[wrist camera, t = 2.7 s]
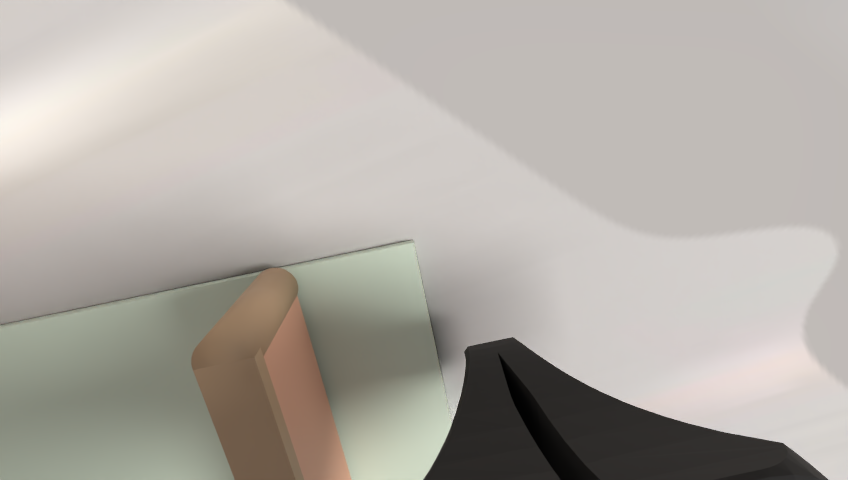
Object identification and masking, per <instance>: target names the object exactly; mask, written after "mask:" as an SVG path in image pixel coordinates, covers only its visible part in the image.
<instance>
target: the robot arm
mask: <svg viewBox="0 0 848 480" xmlns="http://www.w3.org/2000/svg"><path fill="white" fill-rule="evenodd" d="M464 352H465V357H466V369H465V377H464V383H463V388H462V393H461V397H460V400H459V404H458V407H457V411H456V414H455V417H454V420H453V423H452V425H451V428H450V430H449V433H448V435H447V437H446V440H445V442H444V444H443V446H442V448H441V450H440V452H439V454H438V456H437V458H436V460H435V461H434V463H433V465H432V467H431V468H430V470H429V472H428V473H427V475H426V476H425V478H424V479H423V480H828V479H827V478H826V477H825V476H823V475H822V474H821V473H820V472H819V471H818V470H816V469H815V468H814V467H813V466H812V465H810V464H809V463H808V462H807V461H805V460H804V459H803V458H802V457H800V456H799V455H798V454H797V453H795V452H794V451H793V450H791V449H790V448H789V447H787V446H786V445H784V444H783V443H779V442H774V441H768V440H763V439H757V438H752V437H746V436H741V435H735V434H730V433H724V432H720V431H716V430H712V429H708V428H704V427H700V426H696V425H692V424H688V423H684V422H681V421H677V420H674V419H671V418H667V417H664V416H661V415H658V414H655V413H652V412H649V411H647V410H644V409H641V408H638V407H635V406H633V405H630V404H627V403H625V402H623V401H620V400H618V399H616V398H613V397H611V396H609V395H607V394H604V393H602V392H600V391H598V390H596V389H594V388H592V387H590V386H588V385H586V384H584V383H582V382H580V381H579V380H577V379H575V378H573V377H571V376H570V375H568V374H566V373H565V372H563V371H561V370H560V369H558V368H556V367H555V366H553V365H552V364H550V363H549V362H547V361H546V360H544V359H543V358H541V357H540V356H538V355H537V354H536V353H534V352H533V351H531V350H530V349H529V348H527V347H526V346H524V345H523V344H522V343H520V342H519V341H517V340H516V339H515V338H513V337H512V338H507V339H502V340H498V341H493V342H488V343H483V344H478V345H474V346H469V347H467V349H466V350H465V351H464Z"/></svg>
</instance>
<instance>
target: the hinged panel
mask: <svg viewBox="0 0 848 480" xmlns="http://www.w3.org/2000/svg"><path fill="white" fill-rule="evenodd" d="M297 295H298V283H297V281H296V279H295V277H294V276H293V275H292V274H291V273H290V272H288V271H287V270H285V269H282V268H269V269H266V270H264V271H262V272H261V273H260V274H259V275H258V276H257V277H256V279H255V280H254V281H253V282H252V283H251V284H250V285H249V287H248V288H247V289H246V290H245V291H244V292H243V293H242V295H241V296H240V297H239V298H238V299H237V300H236V301H235V303H234V304H233V305H232V306H231V307H230V308H229V309H228V311H227V312H226V313H225V314H224V315H223V316H222V318H221V319H220V320H219V321H218V322H217V323H216V324H215V326H214V327H213V328H212V329H211V330H210V331H209V332H208V334H207V335H206V336H205V337H204V338H203V339H202V340H201V342H200V343H199V344H198V345H197V346H196V348H195V349H194V351H193V354H192V358H191V365H192V369H193V372H194V374H195V377H196V380H197V382H198V385H199V388H200V390H201V393H202V395H203V398H204V401H205V403H206V406H207V408H208V411H209V414H210V416H211V419H212V422H213V424H214V427H215V429H216V432H217V435H218V437H219V440H220V442H221V445H222V448H223V450H224V453H225V456H226V458H227V461H228V463H229V466H230V469H231V471H232V474H233V476H234V479H235V480H352V479H351V476H350V472H349V469H348V466H347V462H346V459H345V455H344V452H343V449H342V445H341V442H340V438H339V435H338V432H337V428H336V425H335V422H334V418H333V415H332V411H331V408H330V405H329V401H328V398H327V394H326V391H325V388H324V384H323V381H322V377H321V374H320V371H319V367H318V364H317V360H316V357H315V354H314V350H313V347H312V343H311V340H310V337H309V333H308V330H307V326H306V323H305V320H304V316H303V313H302V309H301V306H300V303H299V299H298V296H297Z"/></svg>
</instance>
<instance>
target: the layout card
mask: <svg viewBox="0 0 848 480" xmlns="http://www.w3.org/2000/svg"><path fill="white" fill-rule="evenodd" d="M279 268H282V269H285V270H287V271H288V272H290V273H291V274H292V275H293V276H294V277H295V279H296V281H297V283H298V295H297V296H298V299H299V303H300V306H301V309H302V313H303V316H304V320H305V323H306V326H307V330H308V333H309V337H310V340H311V343H312V347H313V350H314V354H315V357H316V360H317V364H318V367H319V371H320V374H321V377H322V381H323V384H324V388H325V391H326V394H327V398H328V401H329V405H330V408H331V411H332V415H333V418H334V422H335V425H336V428H337V432H338V435H339V438H340V442H341V445H342V449H343V452H344V455H345V459H346V462H347V466H348V469H349V472H350V476H351V479H352V480H423V479H424V478H425V476H426V475H427V473H428V472H429V470H430V468H431V467H432V465H433V463H434V461H435V460H436V458H437V456H438V454H439V452H440V450H441V448H442V446H443V444H444V442H445V440H446V437H447V435H448V433H449V430H450V428H451V425H452V422H451V417H450V412H449V408H448V403H447V398H446V393H445V388H444V384H443V379H442V374H441V369H440V365H439V360H438V355H437V350H436V346H435V341H434V336H433V331H432V327H431V322H430V317H429V312H428V307H427V303H426V298H425V293H424V288H423V284H422V279H421V274H420V269H419V265H418V260H417V255H416V250H415V246H414V241H413V240H410V241H405V242H400V243H396V244H391V245H386V246H381V247H376V248H371V249H367V250H362V251H357V252H352V253H347V254H342V255H338V256H333V257H328V258H323V259H318V260H313V261H308V262H304V263H299V264H294V265H289V266H284V267H279ZM261 272H262V271H260V272H255V273H250V274H246V275H241V276H236V277H231V278H226V279H221V280H217V281H212V282H207V283H202V284H197V285H192V286H188V287H183V288H178V289H173V290H168V291H163V292H158V293H154V294H149V295H144V296H139V297H134V298H129V299H125V300H120V301H115V302H110V303H105V304H100V305H96V306H91V307H86V308H81V309H76V310H71V311H67V312H62V313H57V314H52V315H47V316H42V317H38V318H33V319H28V320H23V321H18V322H13V323H8V324H4V325H0V480H235V479H234V476H233V474H232V471H231V469H230V466H229V463H228V461H227V458H226V456H225V453H224V450H223V448H222V445H221V442H220V440H219V437H218V435H217V432H216V429H215V427H214V424H213V422H212V419H211V416H210V414H209V411H208V408H207V406H206V403H205V401H204V398H203V395H202V393H201V390H200V388H199V385H198V382H197V380H196V377H195V374H194V372H193V369H192V365H191V358H192V354H193V351H194V349H195V348H196V346H197V345H198V344H199V343H200V342H201V340H202V339H203V338H204V337H205V336H206V335H207V334H208V332H209V331H210V330H211V329H212V328H213V327H214V326H215V324H216V323H217V322H218V321H219V320H220V319H221V318H222V316H223V315H224V314H225V313H226V312H227V311H228V309H229V308H230V307H231V306H232V305H233V304H234V303H235V301H236V300H237V299H238V298H239V297H240V296H241V295H242V293H243V292H244V291H245V290H246V289H247V288H248V287H249V285H250V284H251V283H252V282H253V281H254V280H255V279H256V277H257V276H258V275H259V274H260V273H261Z"/></svg>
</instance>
